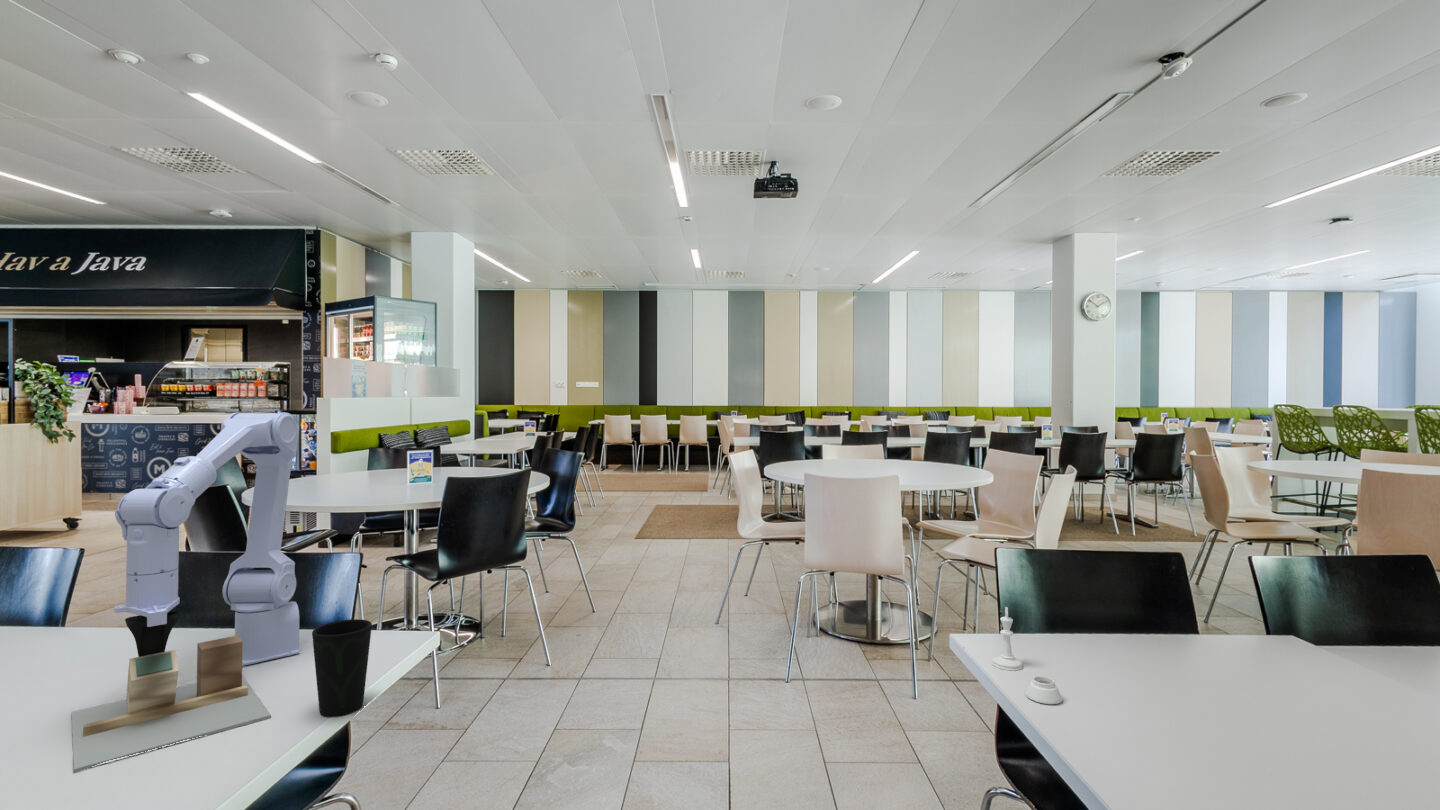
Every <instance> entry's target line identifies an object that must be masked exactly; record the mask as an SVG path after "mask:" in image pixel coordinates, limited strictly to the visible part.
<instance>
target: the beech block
mask: <svg viewBox="0 0 1440 810" xmlns="http://www.w3.org/2000/svg"><path fill="white" fill-rule="evenodd" d="M178 663H179V662H178V656H177V650H176V649H172V650H167V651H166V650H165V652H161V653H156V654H151V655H146V656H141V657H139V656H136V657H131V658H129V659H128V673H127V685H126V698H125V699H126V701H127V714H130V713H134V712H138V711H142V710H146V709H151V708H155V707H159V706H163V705H167V704H171V703H175V697H176V688H177V687H178V681H179V680H178V677H179V664H178Z"/></svg>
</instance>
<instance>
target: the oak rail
mask: <svg viewBox="0 0 1440 810" xmlns="http://www.w3.org/2000/svg"><path fill="white" fill-rule="evenodd" d="M247 695H248V687H247V686H246V685H245V686H241V687H237V688H233V689H229V690H225V691H221V692H216V693H212V694H208V695H204V696H200V697H196V698H192V699H188V700H184V701H179V702H175V703H171V704H167V705H163V706H159V707H155V708H151V709H146V710H142V711H138V712H134V713H130V714H126V715H122V716H118V717H114V718H109V719H105V720H101V721H97V722H93V723H89V724H85V725H83V737H85V736H89V735H93V734H97V733H101V732H105V731H109V730H113V729H117V728H120V727H124V726H128V725H132V724H136V723H140V722H144V721H148V720H152V719H156V718H160V717H164V716H168V715H172V714H176V713H180V712H184V711H188V710H192V709H196V708H200V707H204V706H208V705H212V704H215V703H219V702H223V701H227V700H231V699H235V698H239V697H243V696H247Z"/></svg>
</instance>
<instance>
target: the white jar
mask: <svg viewBox="0 0 1440 810" xmlns="http://www.w3.org/2000/svg"><path fill="white" fill-rule="evenodd" d="M1059 690H1060V689H1059V688H1058V687H1057V685H1056V683H1055V680H1053V679H1052V678H1050V677H1047V676H1039V675H1038V676H1037V675H1036V676H1034V677H1032V679H1031V681H1030V682H1029V684H1028V686H1027V688H1025V691H1024V693H1025V696H1026V698H1028V699H1030V700H1031V701H1033V702H1036V703H1039V704H1041V705H1056V704H1057V705H1058V704H1060V703H1062V701H1063V696H1062V694H1061V692H1060V691H1059Z"/></svg>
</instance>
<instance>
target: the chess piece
mask: <svg viewBox="0 0 1440 810" xmlns="http://www.w3.org/2000/svg"><path fill="white" fill-rule="evenodd" d="M1004 614H1005V615H1004V616H1001V617H1000V623H1001V625H1002V629H1001V630H1000V631H999V633H1000V635H1003V641H1002V649H1001V653H999V655H997V656H994V657H992V659H991V660H992V661H991V665H993V667H995V668H998V669H1000V670H1005V671H1011V672H1012V671H1020V670H1022V669H1023V667H1024V666H1023V663H1022V661H1021V660H1020V659H1018V658H1016V657H1015V656H1014V654H1013V652H1012V644H1011V636H1013V635H1014V632H1013V631H1012V630H1010V629H1011V628H1012V624H1013V621H1014V620H1013V618H1012V617H1009V608H1008V606H1004Z"/></svg>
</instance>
